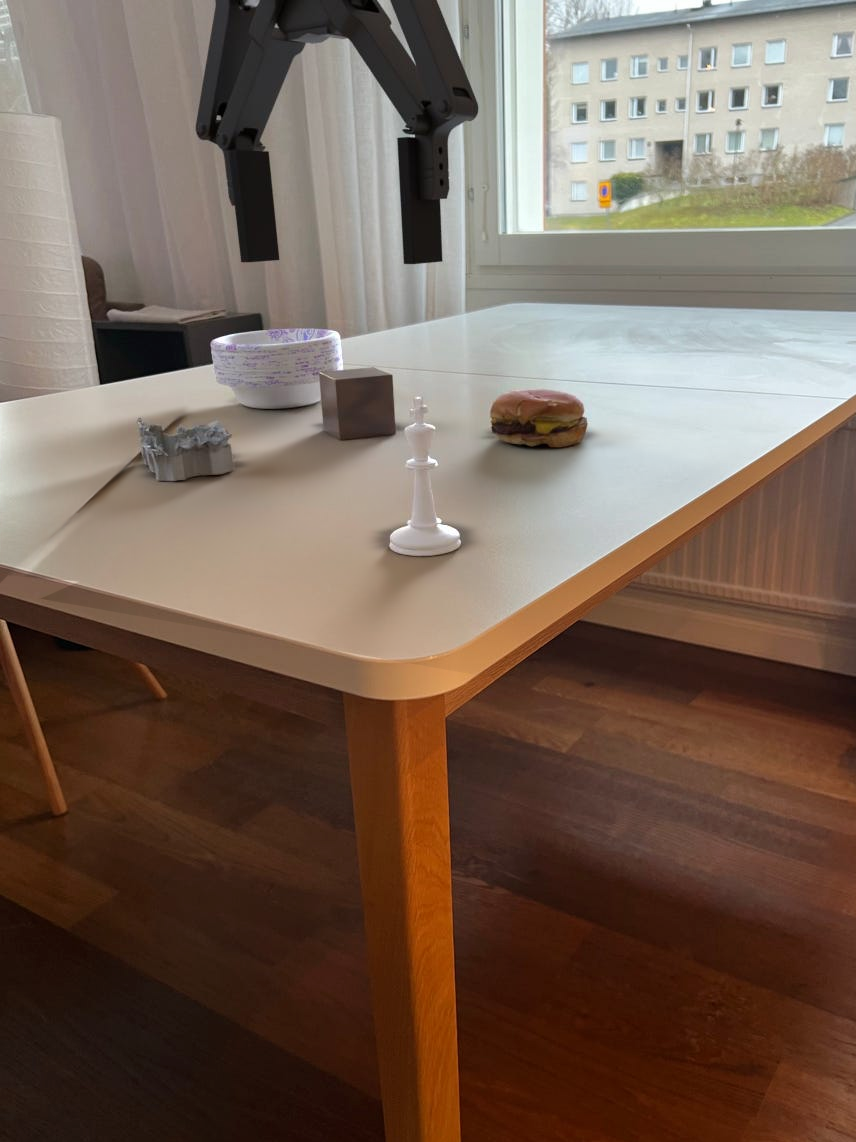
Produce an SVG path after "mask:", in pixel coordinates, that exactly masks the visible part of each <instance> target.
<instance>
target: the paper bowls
mask: <svg viewBox="0 0 856 1142" xmlns="http://www.w3.org/2000/svg"><path fill="white" fill-rule="evenodd" d="M341 345H342V343H341V335H340V333H339V332H338V331H335V330H330V329H323V328H278V329H277V328H276V329H265V330H264V329H263V330H255V331H246V332H237V333H233V334H228V335H224V336H220V337H217V338H214V339H212V340H211V342H210V348H211V350H210V352H211V359H212V364H213V373H214V374H213V375H214V376H215V382H216V383H217V384H219V385H223V386H227V387H229V388H230V390H231V391H232V393H233V395H234V396H235V398H236V400H237V401H238V403H240V404H241V405H242V406H244V407H247V408H251V409H261V410H277V409H278V410H279V409H292V408H299V407H304V406H309V405H310V406H311V405H314V404H316V403H318V402H321V392H320V380H319V372H324V371H336V370H344V365H343V352H342V346H341Z"/></svg>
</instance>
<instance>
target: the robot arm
mask: <svg viewBox="0 0 856 1142" xmlns="http://www.w3.org/2000/svg"><path fill="white" fill-rule="evenodd" d="M389 2H390V4H391V6H392V9H393V11H394V14H395V17H396V18H397V21H398V24H399V25H400V26H399V27H400V29H401V31H402V34H403V36H404V38H405V41H406V43H407V46H408V48H409V52H410V54H411V56H412V57H411V56H410V54H409V53H408V51H407V49H406V48H405V47H404V45H403V44H402V42H401V40H399V38H398V36H397V34H396V33H395V32H394V30H393V29H392V27H391V25H392V20H391V18H390V17H389V16H388V14H387V13H386V10H384V8H383V6H382V5H381V3H380V2H379V1H378V0H215V2H214V3H215V8H214V11H213V12H214V13H213V18H212V19H213V20H212V26H211V30H210V31H211V32H210V37H209V42H208V43H209V44H208V50H207V55H206V61H205V68H204V73H203V79H202V86H201V91H200V97H199V104H198V110H197V116H196V121H195V133H196V136H197V137H198V139H200V140H202V141H209V142H211V143H213V144H215V145H217V146H218V148H219V149H220V150H221V151H222V153H223V158H224V166H225V176H226V180H227V181H226V185H227V192H228V199H229V202H230V205H231V206H232V207H234V211H235V213H234V214H235V220H236V231H237V236H238V237H237V238H238V247H239V255H240V256H239V257H240V262H241V263H259V262H260V263H261V262H273V261H280V251H279V241H278V240H279V239H278V231H277V221H276V220H277V219H276V210H275V203H274V191H273V190H274V189H273V181H272V171H271V161H270V151H269V150H266V146H265V145H264V143H262V141H261V139H262V136H263V134H264V131H265V129H266V126H267V124H268V122H269V119H270V117H271V114H272V112H273V109H274V107H275V104H276V102H277V99H278V97H279V95H280V92H281V90H282V87H283V85H284V82H285V80H286V78H287V75H288V73H289V70H290V68H291V65H292V63H293V61H294V59H295V57H296V56H298V55H299V54H301V53H302V52H303V50H304V49H305V46H306V44H310V45H311V44H312V45H313V44H319V43H323V42H325V41H326V40H328V39H330V38H331V39H339V40H346V39H347V40H349V42H351V44H352V45H353V47H354V48H355V50H356V51H357V53H358V54H359V56H360V58H361V59H362V61H363V62H364V63H365V65H366V67H367V68H368V69H369V72H371V74H372V75H373V77H374V78H375V80H376V81H377V83H378V84H379V86H380V87H381V89H382V90H383V92H384V93H385V95H386V97H387V98H388V99H389V101H390V102H391V104H392V106H393V107H394V109H395V110H396V112H397V113H398V114H399V116H400V118H401V119H402V121H403V122H404V123H405V126H404V128H403V129H401V131H402V132H403V133H404V134H406V135H411V136H403V137H397V138H396V139H397V142H396V143H397V160H398V162H397V163H398V180H399V181H398V182H399V197H400V198H399V199H400V216H401V217H400V218H401V234H402V235H401V237H402V256H403V257H402V258H403V265H420V264H421V265H422V264H430V263H431V264H432V263H441V262H443V239H442V238H443V237H442V214H441V212H442V211H441V200H447V199H448V197H449V192H450V178H449V177H450V171H449V169H450V167H449V166H450V165H449V137H450V134H451V133H452V131H453V130H454V129H455V128H457V127H458V126H460V125H461V124H463V123H465V122H472V121H474V120H475V119H476V118H477V116H478V114H479V103H478V100H477V98H476V96H475V92H474V91H473V88H472V85H471V83H470V80H469V78H468V75H467V72H466V70H465V68H464V65H463V62H462V60H461V57H460V55H459V52H458V50H457V46H456V44H455V42H454V40H453V38H452V35H451V33H450V30H449V27H448V25H447V22H446V19H445V17H444V14H443V12H442V9H441V7H440V4H439V2H438V0H389ZM276 25H277V27H276ZM412 58H413V59H412ZM217 117H220V119H217Z"/></svg>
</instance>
